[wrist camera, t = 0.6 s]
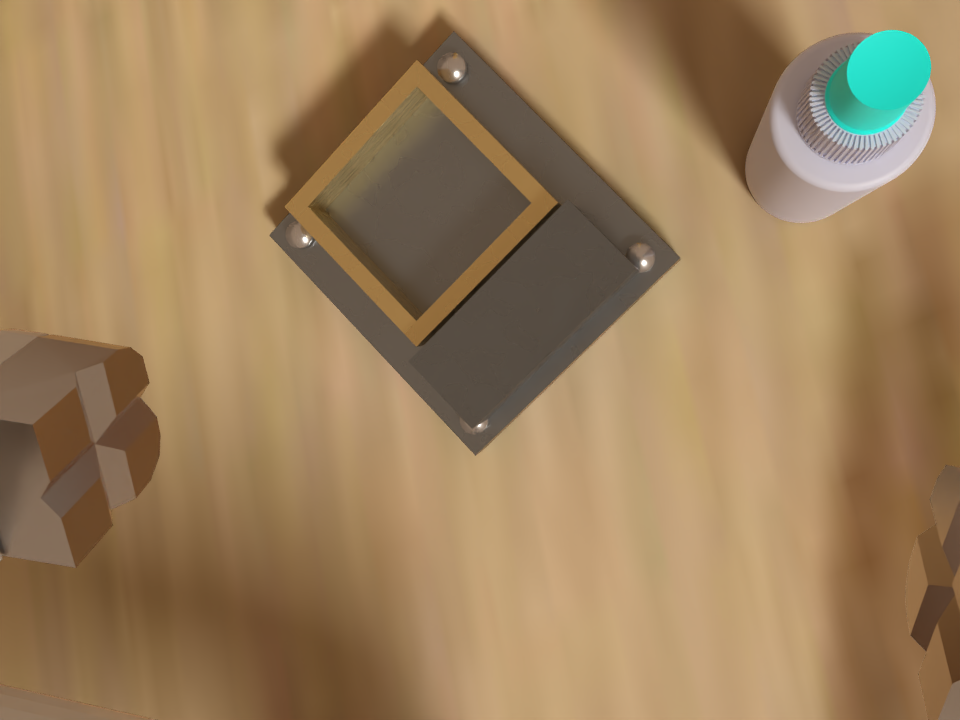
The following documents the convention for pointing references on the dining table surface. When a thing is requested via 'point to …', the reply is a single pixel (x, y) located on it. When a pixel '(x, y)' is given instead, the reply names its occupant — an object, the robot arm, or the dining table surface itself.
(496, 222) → the grey plate with frame
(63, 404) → the robot arm
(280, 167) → the dining table surface
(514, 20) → the dining table surface
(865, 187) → the spray bottle
